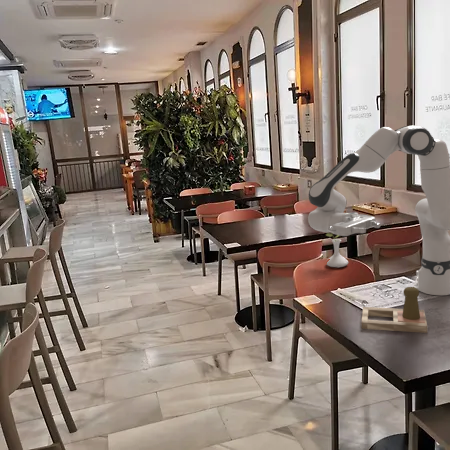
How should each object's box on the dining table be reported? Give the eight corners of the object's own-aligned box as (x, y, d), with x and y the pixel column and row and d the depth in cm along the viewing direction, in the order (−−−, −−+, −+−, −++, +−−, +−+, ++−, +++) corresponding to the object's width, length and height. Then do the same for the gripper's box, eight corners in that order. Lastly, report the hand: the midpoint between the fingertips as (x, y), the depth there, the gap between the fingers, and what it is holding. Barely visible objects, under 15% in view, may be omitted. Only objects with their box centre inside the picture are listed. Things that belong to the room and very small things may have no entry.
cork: (415, 312, 168) (415, 284, 166) (423, 319, 163) (423, 290, 160) (399, 313, 168) (399, 285, 166) (406, 320, 162) (406, 291, 160)
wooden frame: (363, 312, 178) (363, 306, 177) (424, 316, 171) (424, 309, 170) (361, 328, 165) (361, 321, 165) (427, 332, 158) (427, 325, 157)
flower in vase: (353, 265, 234) (351, 218, 228) (337, 270, 228) (335, 222, 223) (334, 260, 245) (333, 215, 239) (319, 265, 239) (317, 219, 234)
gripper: (325, 221, 176) (355, 225, 165) (357, 211, 188) (387, 214, 177) (325, 237, 177) (355, 242, 166) (357, 226, 189) (387, 230, 178)
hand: (372, 228), depth 172 cm, fingers open, 8 cm apart
